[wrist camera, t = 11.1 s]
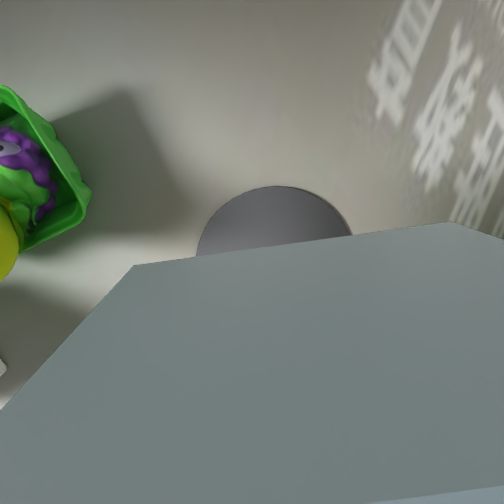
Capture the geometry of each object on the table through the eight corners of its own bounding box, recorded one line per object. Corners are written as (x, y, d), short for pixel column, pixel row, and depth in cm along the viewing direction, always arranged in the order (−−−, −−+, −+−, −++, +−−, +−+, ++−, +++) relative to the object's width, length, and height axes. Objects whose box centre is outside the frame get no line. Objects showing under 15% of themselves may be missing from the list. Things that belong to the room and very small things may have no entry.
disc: (182, 198, 24) (182, 199, 24) (347, 175, 24) (348, 175, 24) (210, 345, 27) (209, 346, 27) (357, 325, 27) (358, 327, 27)
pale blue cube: (133, 265, 12) (-148, 571, 3) (450, 221, 12) (1019, 417, 3) (191, 507, 14) (120, 1012, 6) (447, 474, 14) (741, 938, 6)
